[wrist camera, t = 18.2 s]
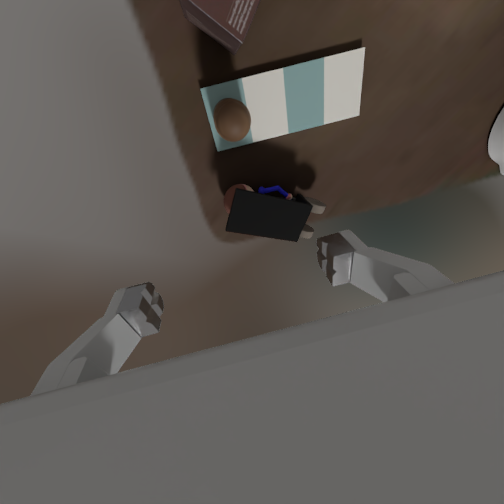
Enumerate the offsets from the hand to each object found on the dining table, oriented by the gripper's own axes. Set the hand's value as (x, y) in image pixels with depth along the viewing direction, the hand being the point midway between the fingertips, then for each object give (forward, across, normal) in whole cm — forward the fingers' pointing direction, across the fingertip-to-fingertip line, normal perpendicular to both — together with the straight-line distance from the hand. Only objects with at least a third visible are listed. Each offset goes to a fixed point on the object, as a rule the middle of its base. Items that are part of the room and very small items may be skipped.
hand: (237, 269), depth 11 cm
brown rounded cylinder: (+24, +3, +4) cm, 25 cm away
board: (+25, +10, +4) cm, 27 cm away
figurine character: (+25, +6, -9) cm, 28 cm away
